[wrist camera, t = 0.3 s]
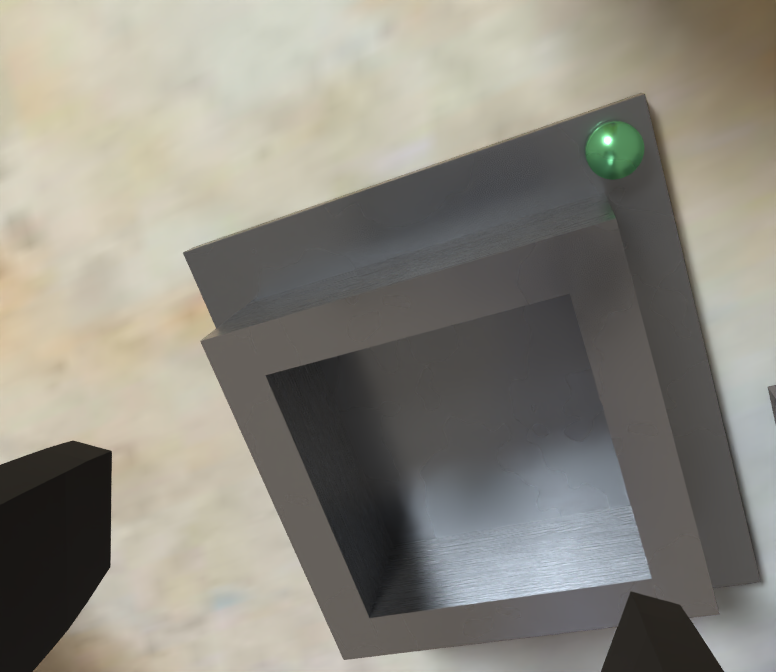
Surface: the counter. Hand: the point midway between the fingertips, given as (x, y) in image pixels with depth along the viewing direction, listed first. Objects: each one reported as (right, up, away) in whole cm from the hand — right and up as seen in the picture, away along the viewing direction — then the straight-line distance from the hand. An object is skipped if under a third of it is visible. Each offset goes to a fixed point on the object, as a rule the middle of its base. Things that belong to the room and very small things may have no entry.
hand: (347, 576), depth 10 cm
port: (+3, +1, +10) cm, 10 cm away
